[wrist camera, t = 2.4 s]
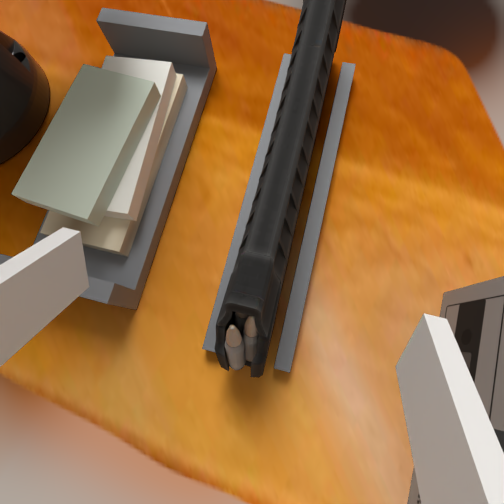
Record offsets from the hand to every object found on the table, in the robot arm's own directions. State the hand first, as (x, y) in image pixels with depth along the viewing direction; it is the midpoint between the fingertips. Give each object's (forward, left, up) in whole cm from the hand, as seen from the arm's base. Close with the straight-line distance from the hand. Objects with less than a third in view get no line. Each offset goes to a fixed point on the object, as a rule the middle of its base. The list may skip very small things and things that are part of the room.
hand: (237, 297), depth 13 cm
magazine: (0, +11, -15) cm, 19 cm away
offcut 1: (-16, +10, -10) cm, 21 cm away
